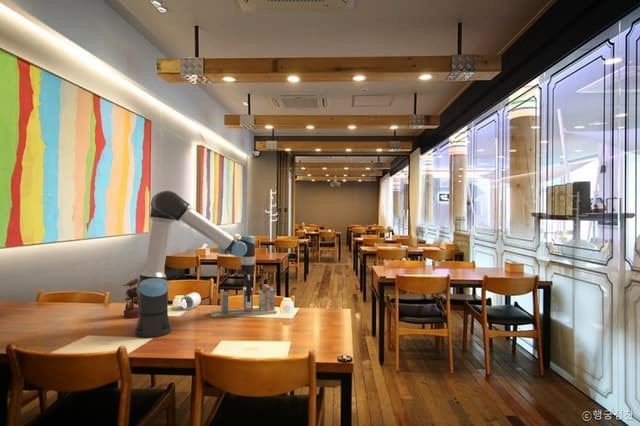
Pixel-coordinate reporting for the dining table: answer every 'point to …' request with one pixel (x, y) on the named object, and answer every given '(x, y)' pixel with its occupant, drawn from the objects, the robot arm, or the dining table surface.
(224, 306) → the bookend
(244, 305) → the book
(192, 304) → the mug
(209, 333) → the dining table surface
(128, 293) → the music box
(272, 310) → the rail
